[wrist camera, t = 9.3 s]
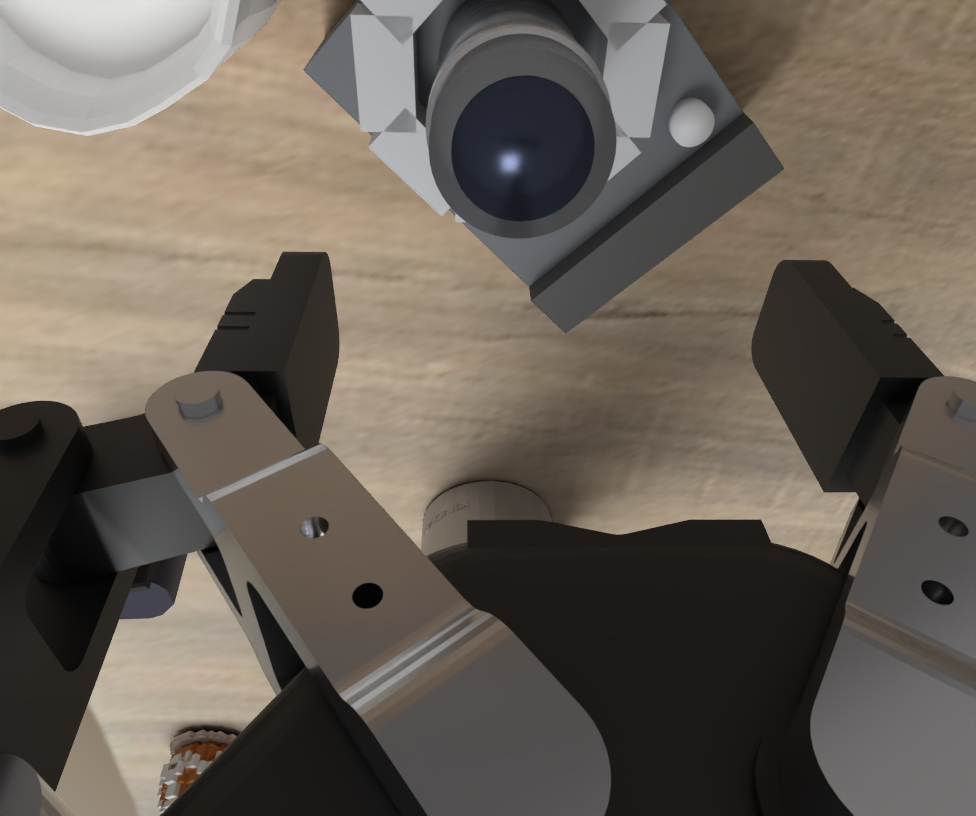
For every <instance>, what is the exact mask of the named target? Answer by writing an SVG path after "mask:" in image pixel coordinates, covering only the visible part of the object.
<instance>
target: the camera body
mask: <svg viewBox="0 0 976 816" xmlns="http://www.w3.org/2000/svg"><path fill="white" fill-rule="evenodd" d="M465 1H466V0H356V1H355V2H354V3H353V4H352V5H351V7H350V8H349V9H348V10H347V12H346V13H345V14H344V15H343V16H342V18H341V19H340V20H339V21H338V23H337V24H336V25H335V26H334V28H333V29H332V30H331V31H330V32H329V34H328V35H327V36H326V37H325V39H324V40H323V41H322V43H321V44H320V46H319V47H318V49H317V50H316V52H315V53H314V55H313V56H312V58H311V59H310V61H309V62H308V64H307V65H306V67H305V68H304V71H305V72H306V73H307V74H308V75H309V76H310V77H311V78H312V79H313V80H314V81H315V82H316V83H317V84H318V85H319V86H320V87H321V88H322V89H323V90H325V91H326V92H327V93H328V94H329V95H330V96H331V97H332V98H333V99H334V100H335V101H336V102H337V103H338V104H339V105H340V106H341V107H342V108H343V109H344V110H345V111H346V112H347V113H348V114H350V115H351V116H352V117H353V118H354V119H355V120H356V121H357V122H358V123H359V124H360V131H361V132H368V133H369V134H370V135H371V140H370V143H369V146H368V148H369V149H371V150H372V151H373V152H374V153H375V154H376V155H377V156H378V157H379V158H380V159H381V160H382V161H383V162H384V163H385V164H386V165H387V166H388V167H390V168H391V169H392V170H393V171H394V172H395V173H396V174H397V175H398V176H399V177H400V178H401V179H402V180H403V181H404V182H405V183H406V184H407V185H409V186H410V187H411V188H412V189H413V190H414V191H415V192H416V193H417V194H418V195H419V196H420V197H421V198H422V199H423V200H424V201H425V202H427V203H428V204H429V205H430V206H431V207H432V208H433V209H434V210H435V211H436V212H437V213H438V214H439V215H440V216H442V215H443V214H444V213H445V212H446V211H447V210H449V211H450V212H452V213H453V214H454V215H455V222H462V223H463V224H464V225H465V226H466V227H467V228H468V229H469V230H470V231H471V232H472V233H473V234H474V235H475V236H477V237H478V238H479V239H480V240H481V241H482V242H483V243H484V244H485V245H486V246H487V247H488V248H489V249H490V250H491V251H492V252H493V253H494V254H495V255H496V256H497V257H498V258H499V259H500V260H502V261H503V262H504V263H505V264H506V265H507V266H508V267H509V268H510V269H511V270H512V271H513V272H514V273H515V274H516V275H517V276H518V277H519V278H520V279H521V280H522V281H523V282H524V283H525V284H526V285H528V286H529V289H530V296H531V301H532V302H533V303H534V304H535V305H536V306H537V307H538V308H539V309H540V310H541V311H542V312H543V313H544V314H546V315H547V316H548V317H549V318H550V319H551V320H552V321H553V322H554V323H555V324H556V325H557V326H558V327H559V328H560V329H561V330H562V331H563V332H565V333H567V332H568V331H569V330H571V329H572V328H573V327H575V326H576V325H577V324H579V323H580V322H581V321H583V320H584V319H585V318H587V317H588V316H589V315H591V314H592V313H593V312H595V311H596V310H597V309H599V308H600V307H601V306H603V305H604V304H605V303H607V302H608V301H609V300H611V299H612V298H613V297H615V296H616V295H617V294H619V293H620V292H621V291H623V290H624V289H625V288H627V287H628V286H629V285H631V284H632V283H633V282H635V281H636V280H637V279H639V278H640V277H641V276H643V275H644V274H645V273H647V272H648V271H649V270H651V269H652V268H653V267H654V266H656V265H657V264H658V263H660V262H661V261H662V260H664V259H665V258H666V257H668V256H669V255H670V254H672V253H673V252H674V251H676V250H677V249H678V248H680V247H681V246H682V245H684V244H685V243H686V242H688V241H689V240H690V239H692V238H693V237H694V236H696V235H697V234H698V233H700V232H701V231H702V230H704V229H705V228H706V227H708V226H709V225H710V224H712V223H713V222H714V221H716V220H717V219H718V218H720V217H721V216H722V215H724V214H725V213H726V212H728V211H729V210H730V209H732V208H733V207H734V206H736V205H737V204H738V203H739V202H741V201H742V200H743V199H745V198H746V197H747V196H749V195H750V194H751V193H753V192H754V191H755V190H757V189H758V188H759V187H761V186H762V185H763V184H765V183H766V182H767V181H769V180H770V179H771V178H773V177H774V176H775V175H777V174H778V173H779V172H781V171H782V170H783V169H784V167H783V166H782V164H781V163H780V161H779V160H778V158H777V157H776V155H775V154H774V152H773V151H772V149H771V148H770V146H769V145H768V143H767V142H766V140H765V139H764V137H763V136H762V134H761V133H760V131H759V130H758V128H757V127H756V125H755V124H754V123H753V122H752V121H751V120H750V119H749V118H748V117H747V116H746V115H745V114H744V112H743V111H742V109H741V108H740V107H739V105H738V104H737V102H736V101H735V99H734V98H733V96H732V95H731V93H730V92H729V90H728V89H727V87H726V86H725V84H724V83H723V81H722V80H721V78H720V77H719V75H718V74H717V72H716V71H715V69H714V68H713V66H712V65H711V63H710V62H709V60H708V59H707V57H706V56H705V54H704V53H703V51H702V50H701V48H700V47H699V45H698V44H697V42H696V41H695V39H694V38H693V37H692V35H691V34H690V32H689V31H688V29H687V28H686V26H685V25H684V23H683V22H682V20H681V19H680V17H679V16H678V14H677V13H676V11H675V10H674V8H673V7H672V5H671V4H670V2H669V1H668V0H550V1H551V2H552V3H553V4H554V5H555V6H556V7H557V8H558V9H559V10H560V12H561V13H562V15H563V16H564V18H565V20H566V22H567V23H568V25H569V27H570V29H571V31H572V33H573V35H574V37H575V39H576V41H577V42H578V44H580V45H581V46H582V48H583V49H584V50H585V51H586V52H587V53H588V54H589V56H590V57H591V59H592V60H593V62H594V63H595V65H596V66H597V68H598V70H599V72H600V74H601V76H602V78H603V80H604V82H605V84H606V87H607V90H608V93H609V97H610V103H611V108H612V113H613V116H614V121H615V126H616V139H617V143H616V154H615V159H614V164H613V168H612V170H611V173H610V176H609V179H608V181H607V183H606V185H605V187H604V189H603V190H602V192H601V193H600V195H599V196H598V198H597V199H596V200H595V202H594V203H593V204H592V205H591V206H590V208H589V209H588V210H586V211H585V212H584V213H583V214H582V215H581V216H580V217H579V218H577V219H576V220H574V221H573V222H572V223H570V224H568V225H567V226H565V227H563V228H561V229H559V230H557V231H554V232H552V233H549V234H546V235H542V236H539V237H533V238H521V239H515V238H504V237H500V236H495V235H492V234H489V233H486V232H483V231H481V230H479V229H477V228H475V227H473V226H472V225H470V224H469V223H467V222H466V221H464V220H463V219H462V218H461V217H459V216H458V215H457V214H456V213H455V212H454V211H453V210H452V209H451V207H450V206H449V205H448V204H447V202H446V201H445V200H444V198H443V197H442V195H441V193H440V191H439V189H438V187H437V186H436V183H435V180H434V177H433V175H432V171H431V166H430V161H429V149H428V145H427V139H426V114H427V107H428V101H429V95H430V92H431V89H432V85H433V83H434V81H435V78H436V75H437V66H438V58H439V50H440V44H441V40H442V37H443V34H444V31H445V29H446V27H447V24H448V23H449V21H450V19H451V18H452V16H453V14H454V13H455V12H456V11H457V9H458V8H459V7H460V6H461V5H462V4H463V3H464V2H465Z"/></svg>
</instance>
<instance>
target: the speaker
mask: <svg viewBox="0 0 976 816" xmlns="http://www.w3.org/2000/svg"><path fill="white" fill-rule="evenodd" d="M186 557H187V554H183V555H179V556H175V557H172V558H168V559H164V560H160V561H156V562H152V563H149V564H145V565H141V566H139V567H138V570H137V572H136V575H135V578H134V581H133V583H132V586H131V589H130V591H129V594H128V597H127V599H126V602H125V605H124V607H123V610H122V613H121V616H120V618H119V619H141V618H153V617H156V616H160V615H163V614H164V613H165V612H166V611H167V610H168V609H169V608H170V607H171V606H172V605H173V604H174V603H175V599H176V595H177V591H178V588H179V584H180V580H181V576H182V572H183V569H184V565H185V561H186Z"/></svg>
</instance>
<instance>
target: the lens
mask: <svg viewBox="0 0 976 816" xmlns="http://www.w3.org/2000/svg"><path fill="white" fill-rule="evenodd" d="M426 139H427V145H428V149H429V161H430V166H431V171H432V175H433V177H434V180H435V183H436V186H437V187H438V189H439V191H440V193H441V195H442V197H443V198H444V200H445V201H446V202H447V204H448V205H449V206H450V207H451V209H452V210H453V211H454V212H455V213H456V214H457V215H458V216H459V217H461V218H462V219H463V220H464V221H466V222H467V223H469V224H470V225H472V226H473V227H475V228H477V229H479V230H481V231H483V232H486V233H489V234H492V235H495V236H500V237H504V238H515V239H521V238H533V237H539V236H542V235H546V234H549V233H552V232H554V231H557V230H559V229H561V228H563V227H565V226H567V225H568V224H570V223H572V222H573V221H574V220H576V219H577V218H579V217H580V216H581V215H582V214H583V213H584V212H585V211H586V210H588V209H589V208H590V206H591V205H592V204H593V203H594V202H595V200H596V199H597V198H598V196H599V195H600V193H601V192H602V190H603V189H604V187H605V185H606V183H607V181H608V179H609V176H610V173H611V170H612V168H613V164H614V159H615V154H616V143H617V139H616V126H615V121H614V116H613V113H612V108H611V103H610V97H609V93H608V90H607V87H606V84H605V82H604V80H603V78H602V76H601V74H600V72H599V70H598V68H597V66H596V65H595V63H594V62H593V60H592V59H591V57H590V56H589V54H588V53H587V52H586V51H585V50H584V49H583V48H582V46H581V45H580V44H578V42H577V41H576V39H575V37H574V35H573V33H572V31H571V29H570V27H569V25H568V23H567V22H566V20H565V18H564V16H563V15H562V13H561V12H560V10H559V9H558V8H557V7H556V6H555V5H554V4H553V3H552V2H551V1H550V0H466V1H465V2H464V3H463V4H462V5H461V6H460V7H459V8H458V9H457V11H456V12H455V13H454V14H453V16H452V18H451V19H450V21H449V23H448V24H447V27H446V29H445V31H444V34H443V37H442V40H441V44H440V50H439V58H438V66H437V75H436V78H435V81H434V83H433V85H432V89H431V92H430V95H429V101H428V107H427V114H426Z"/></svg>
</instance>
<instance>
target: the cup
mask: <svg viewBox="0 0 976 816" xmlns="http://www.w3.org/2000/svg"><path fill="white" fill-rule="evenodd" d="M280 1H281V0H0V108H1V109H3V110H5V111H7V112H9V113H11V114H13V115H15V116H17V117H19V118H21V119H22V120H24V121H26V122H28V123H30V124H32V125H34V126H37V127H42V128H48V129H53V130H59V131H64V132H69V133H75V134H80V135H85V136H90V135H94V134H99V133H103V132H108V131H112V130H117V129H121V128H126V127H130V126H134V125H136V124H138V123H140V122H142V121H143V120H145V119H147V118H149V117H151V116H153V115H154V114H156V113H158V112H160V111H162V110H164V109H165V108H167V107H169V106H170V105H172V104H173V103H174V102H176V101H177V100H179V99H180V98H182V97H183V96H185V95H186V94H187V93H189V92H190V91H192V90H193V89H195V88H196V87H197V86H199V85H200V84H202V83H203V82H205V81H206V80H208V78H209V77H210V76H211V74H212V73H213V71H214V70H215V68H216V67H217V66H219V65H221V64H222V63H224V62H225V61H226V60H227V59H228V58H229V57H230V56H232V55H233V54H234V53H235V52H236V51H237V50H238V49H240V48H241V47H242V46H243V45H244V44H245V43H246V42H247V41H249V40H250V39H251V38H252V37H253V36H254V35H255V34H256V33H257V32H258V31H259V30H260V29H261V28H262V27H263V26H264V25H265V24H266V23H267V22H268V20H269V18H270V17H271V15H272V14H273V12H274V10H275V9H276V7H277V5H278V4H279V2H280Z"/></svg>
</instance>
